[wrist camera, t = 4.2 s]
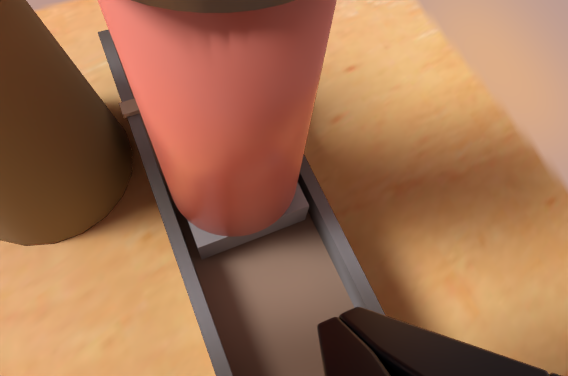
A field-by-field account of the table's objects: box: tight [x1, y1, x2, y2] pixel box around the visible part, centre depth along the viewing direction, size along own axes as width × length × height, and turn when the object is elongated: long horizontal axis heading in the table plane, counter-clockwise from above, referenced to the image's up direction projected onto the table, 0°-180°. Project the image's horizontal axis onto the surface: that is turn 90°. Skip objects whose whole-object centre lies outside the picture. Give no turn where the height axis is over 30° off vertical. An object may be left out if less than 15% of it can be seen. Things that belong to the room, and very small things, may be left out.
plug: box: [98, 0, 336, 259], centre depth 10 cm, size 5×5×12 cm
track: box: [98, 30, 386, 376], centre depth 15 cm, size 16×5×2 cm, turn 24°
